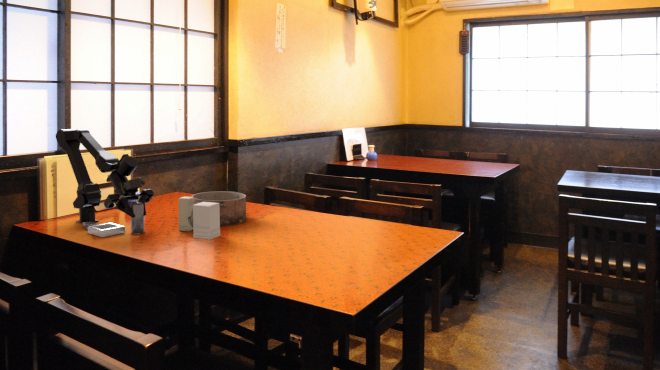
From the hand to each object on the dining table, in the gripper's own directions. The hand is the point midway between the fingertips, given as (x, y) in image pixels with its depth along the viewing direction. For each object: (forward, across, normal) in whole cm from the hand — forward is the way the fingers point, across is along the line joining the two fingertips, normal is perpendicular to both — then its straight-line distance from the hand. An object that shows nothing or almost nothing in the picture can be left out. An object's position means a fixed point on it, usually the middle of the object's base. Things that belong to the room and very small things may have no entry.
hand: (139, 216), depth 201 cm
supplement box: (+21, +13, -11) cm, 27 cm away
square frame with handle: (-6, -8, +15) cm, 18 cm away
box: (+11, +15, -1) cm, 19 cm away
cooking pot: (+9, +35, +1) cm, 36 cm away
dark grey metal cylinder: (+4, 0, +6) cm, 7 cm away
